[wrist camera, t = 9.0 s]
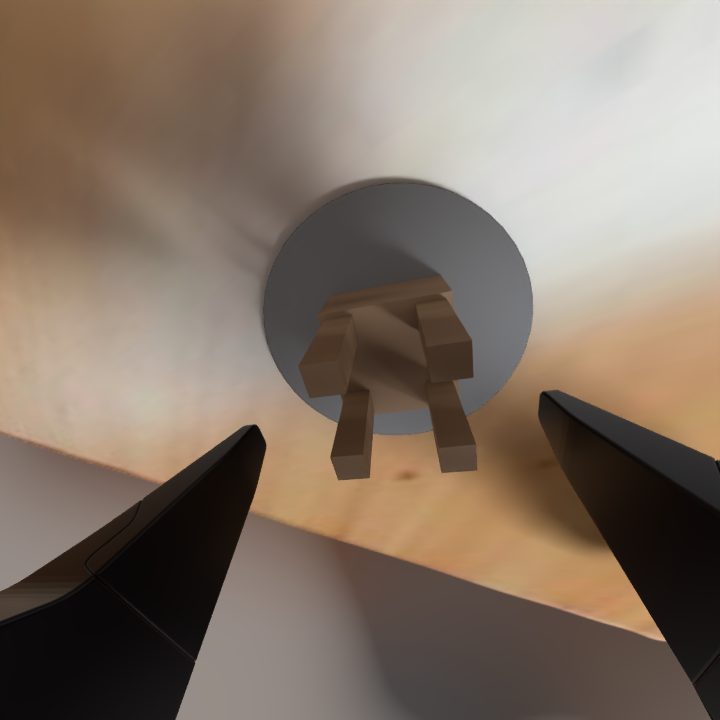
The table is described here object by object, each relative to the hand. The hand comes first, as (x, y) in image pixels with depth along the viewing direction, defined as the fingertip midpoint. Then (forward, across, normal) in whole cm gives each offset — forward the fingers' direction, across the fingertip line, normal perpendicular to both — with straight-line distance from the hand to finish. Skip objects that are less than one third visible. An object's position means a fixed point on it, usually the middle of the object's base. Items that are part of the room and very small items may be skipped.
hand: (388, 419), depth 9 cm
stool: (+7, 0, 0) cm, 7 cm away
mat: (+8, 0, 0) cm, 8 cm away
